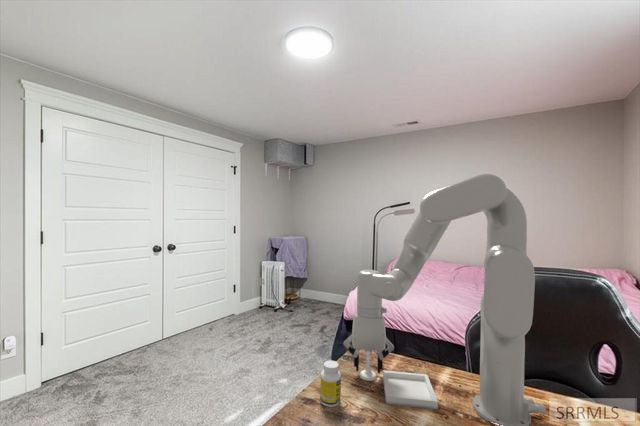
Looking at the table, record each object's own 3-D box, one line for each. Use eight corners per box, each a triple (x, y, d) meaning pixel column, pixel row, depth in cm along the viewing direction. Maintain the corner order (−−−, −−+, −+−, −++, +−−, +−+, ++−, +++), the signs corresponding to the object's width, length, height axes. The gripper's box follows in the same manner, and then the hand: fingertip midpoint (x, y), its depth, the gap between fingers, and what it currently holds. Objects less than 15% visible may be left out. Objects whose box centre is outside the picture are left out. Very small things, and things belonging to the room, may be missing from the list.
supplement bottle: (339, 409, 75) (339, 370, 75) (318, 406, 76) (318, 368, 76) (341, 396, 80) (342, 360, 80) (322, 393, 82) (322, 357, 82)
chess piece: (378, 375, 91) (379, 342, 91) (372, 382, 87) (373, 348, 87) (363, 370, 94) (364, 338, 94) (357, 377, 90) (357, 344, 90)
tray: (427, 381, 89) (427, 374, 89) (437, 409, 76) (437, 401, 76) (382, 376, 91) (382, 370, 91) (385, 403, 78) (386, 396, 78)
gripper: (396, 309, 93) (395, 366, 93) (342, 305, 96) (340, 361, 96) (399, 317, 86) (398, 379, 86) (340, 313, 88) (338, 373, 88)
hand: (368, 369), depth 91 cm, fingers open, 5 cm apart
